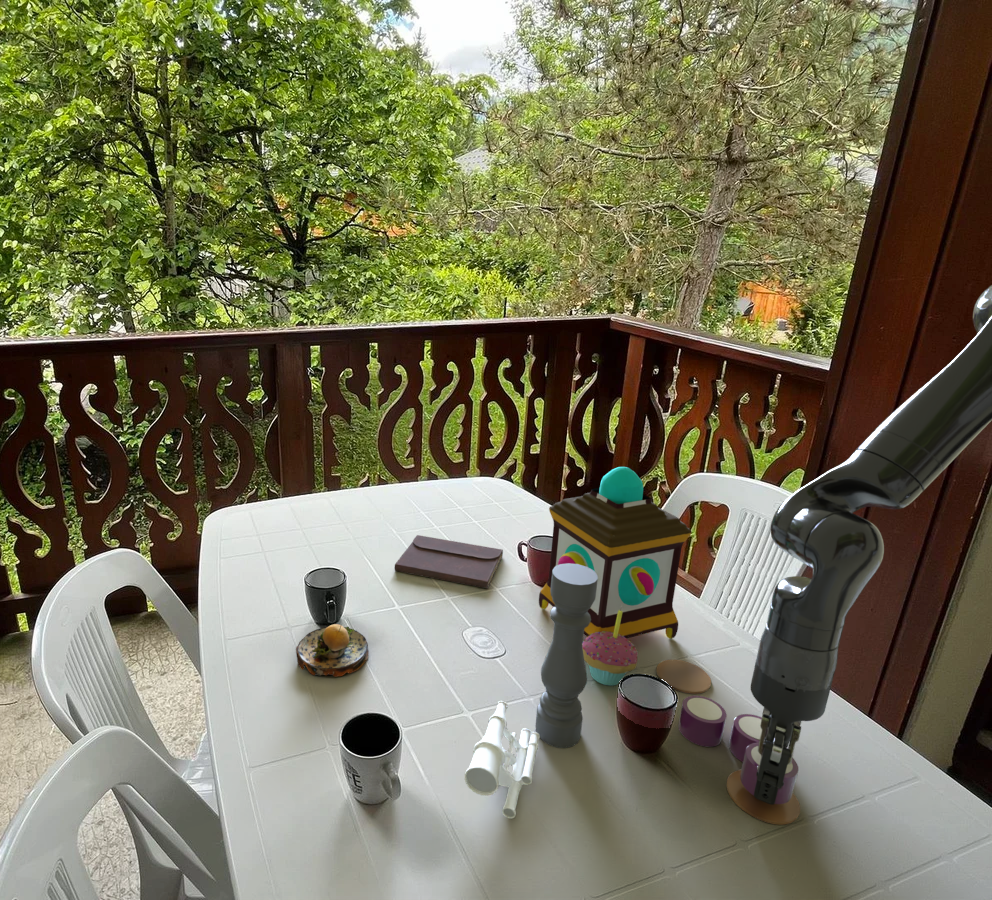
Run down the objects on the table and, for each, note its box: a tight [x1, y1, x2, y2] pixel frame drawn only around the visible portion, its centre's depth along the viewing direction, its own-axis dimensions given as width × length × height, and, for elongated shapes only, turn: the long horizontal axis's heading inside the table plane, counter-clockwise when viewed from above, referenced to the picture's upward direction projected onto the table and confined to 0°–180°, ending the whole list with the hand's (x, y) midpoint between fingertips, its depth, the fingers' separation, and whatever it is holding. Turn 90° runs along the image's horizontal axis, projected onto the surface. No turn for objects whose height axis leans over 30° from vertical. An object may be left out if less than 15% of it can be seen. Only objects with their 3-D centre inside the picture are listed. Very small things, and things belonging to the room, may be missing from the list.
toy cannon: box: [464, 700, 541, 820], centre depth 82 cm, size 8×14×5 cm
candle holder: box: [534, 563, 598, 749], centre depth 86 cm, size 6×6×25 cm
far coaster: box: [655, 658, 712, 695], centre depth 101 cm, size 8×8×1 cm
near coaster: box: [726, 769, 801, 826], centre depth 79 cm, size 8×8×1 cm
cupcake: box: [582, 606, 639, 686], centre depth 99 cm, size 9×8×12 cm
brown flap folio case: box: [394, 534, 504, 590], centre depth 136 cm, size 15×20×2 cm
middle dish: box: [728, 713, 762, 763], centre depth 85 cm, size 6×6×4 cm
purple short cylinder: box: [740, 743, 799, 804], centre depth 78 cm, size 6×6×4 cm
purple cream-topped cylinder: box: [677, 695, 728, 748], centre depth 89 cm, size 6×6×4 cm
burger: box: [295, 623, 370, 678], centre depth 105 cm, size 12×12×8 cm
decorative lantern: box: [538, 466, 692, 639], centre depth 111 cm, size 20×20×30 cm
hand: (766, 782), depth 78 cm, fingers closed on purple short cylinder, 5 cm apart
